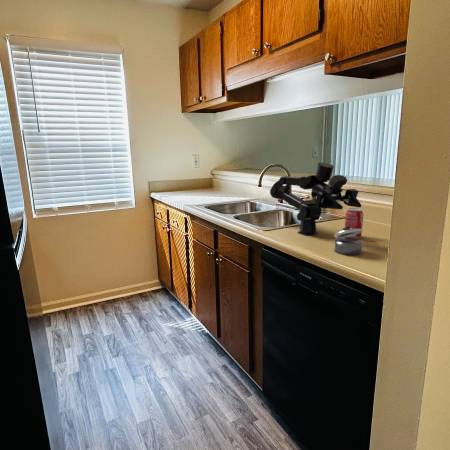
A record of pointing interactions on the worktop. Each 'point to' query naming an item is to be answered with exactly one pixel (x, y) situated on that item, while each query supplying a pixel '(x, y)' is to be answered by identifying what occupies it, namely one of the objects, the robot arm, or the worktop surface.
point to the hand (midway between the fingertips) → (351, 207)
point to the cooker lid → (347, 232)
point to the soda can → (354, 220)
